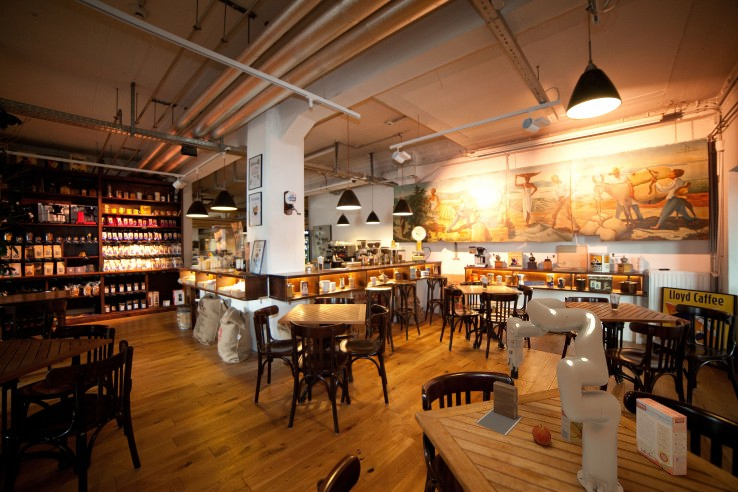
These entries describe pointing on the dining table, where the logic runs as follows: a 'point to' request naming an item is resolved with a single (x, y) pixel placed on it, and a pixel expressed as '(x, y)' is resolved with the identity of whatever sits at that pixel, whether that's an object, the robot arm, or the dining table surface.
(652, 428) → the cracker box
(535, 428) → the fruit
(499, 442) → the dining table surface
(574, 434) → the canned food
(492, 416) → the mat
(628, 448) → the dining table surface
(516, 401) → the plaque
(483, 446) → the dining table surface
